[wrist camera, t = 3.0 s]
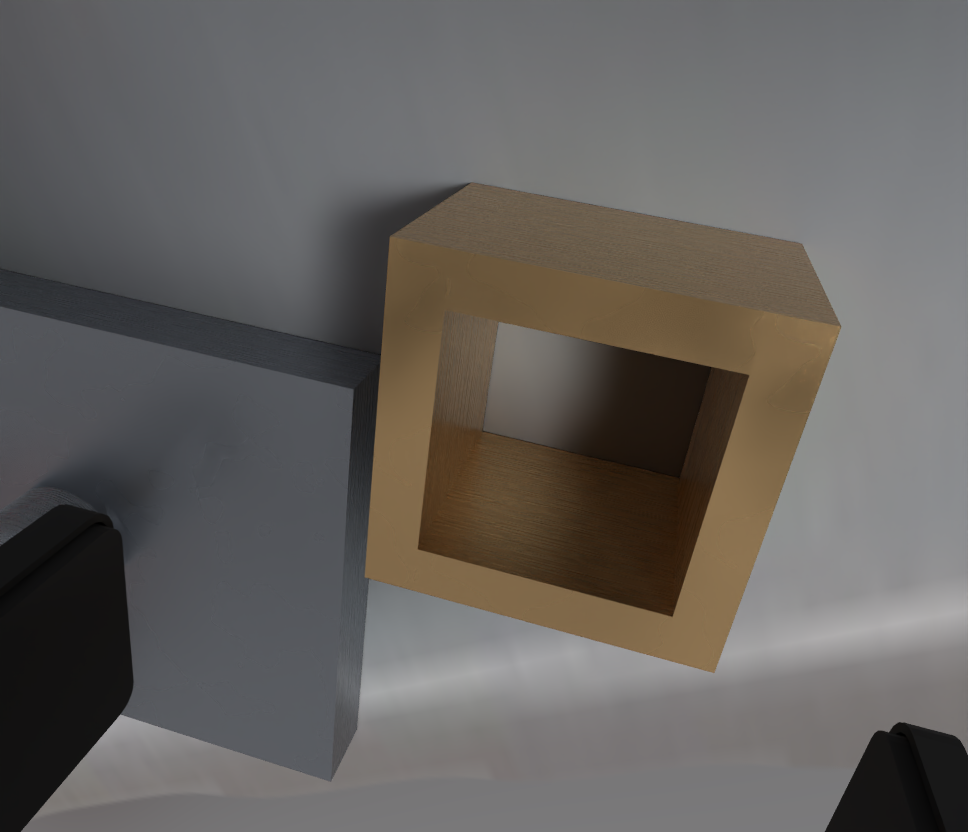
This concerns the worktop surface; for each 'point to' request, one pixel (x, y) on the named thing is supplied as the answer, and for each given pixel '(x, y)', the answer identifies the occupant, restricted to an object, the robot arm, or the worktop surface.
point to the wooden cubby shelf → (573, 477)
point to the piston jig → (205, 504)
